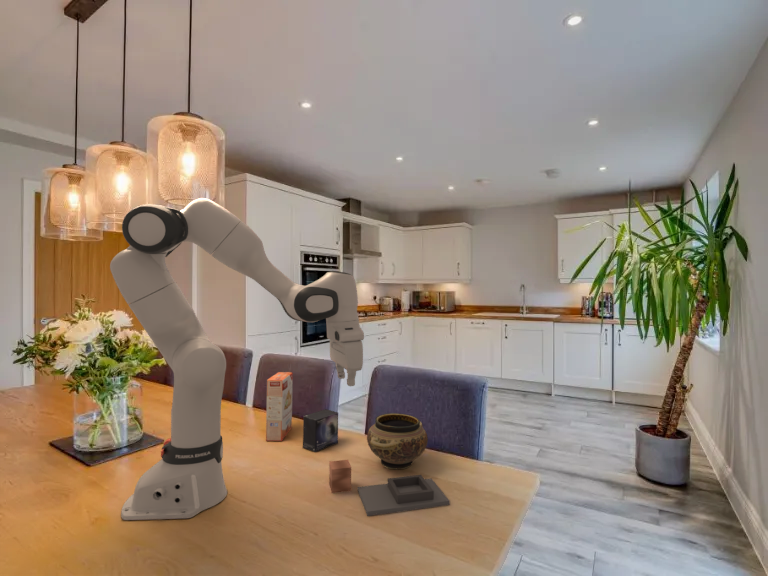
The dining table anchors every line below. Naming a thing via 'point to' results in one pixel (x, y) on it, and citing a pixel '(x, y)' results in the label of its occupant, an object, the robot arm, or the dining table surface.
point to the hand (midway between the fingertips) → (346, 381)
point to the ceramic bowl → (397, 439)
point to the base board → (401, 495)
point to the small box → (320, 430)
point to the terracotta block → (340, 476)
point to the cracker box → (279, 406)
